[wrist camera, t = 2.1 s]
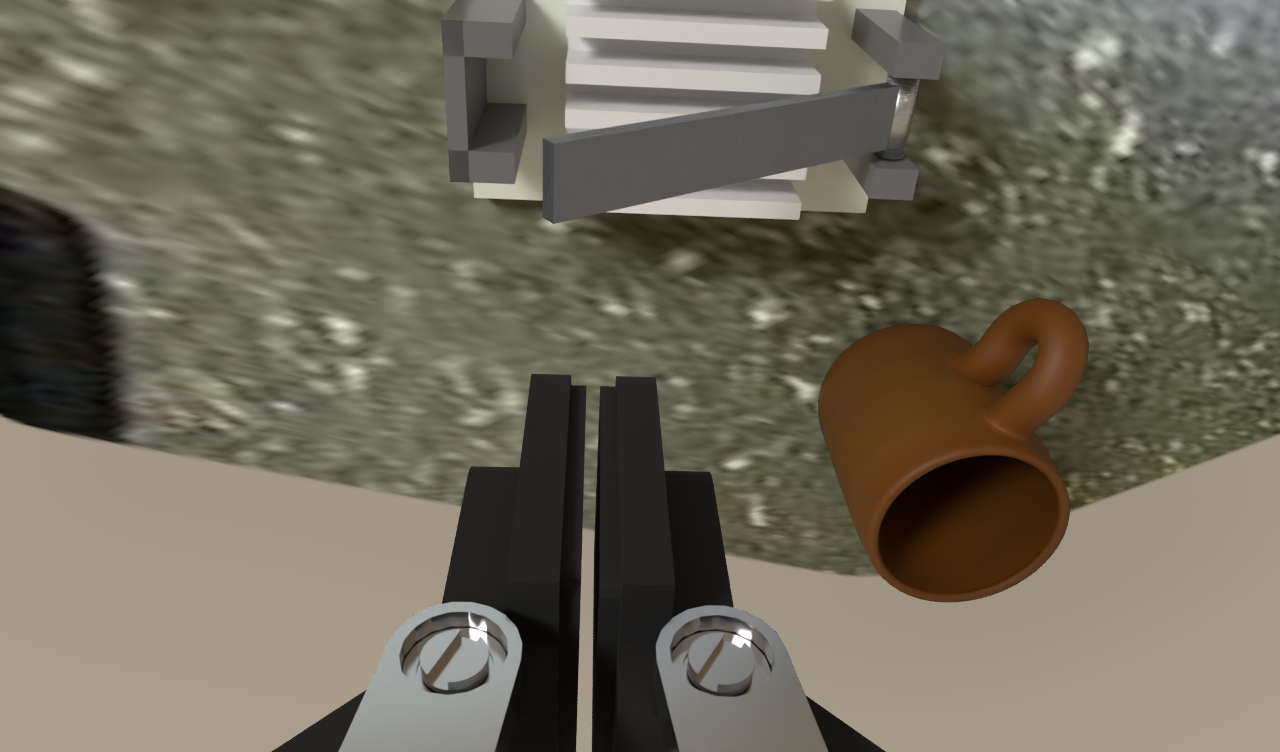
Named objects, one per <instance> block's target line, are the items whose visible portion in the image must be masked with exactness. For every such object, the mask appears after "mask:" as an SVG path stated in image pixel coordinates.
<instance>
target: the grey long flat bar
mask: <svg viewBox="0 0 1280 752" xmlns="http://www.w3.org/2000/svg"><path fill="white" fill-rule="evenodd" d="M919 83H920V79H913V78H893V77H892V76H891V75H890V74H889V73H888V75H887V80H886V82H885V83H879V84H873V85H867V86H861V87H854V88H848V89H842V90H836V91H830V92H824V93H817V94H811V95H805V96H799V97H793V98H787V99H780V100H774V101H768V102H762V103H756V104H750V105H743V106H737V107H731V108H725V109H719V110H713V111H706V112H700V113H694V114H688V115H682V116H676V117H669V118H663V119H657V120H651V121H645V122H638V123H632V124H626V125H620V126H614V127H608V128H601V129H595V130H589V131H583V132H577V133H571V134H564V135H558V136H552V137H546V138H543V218H545V219H547V220H548V221H550V222H551V223H553V224H555V223H559V222H564V221H568V220H573V219H577V218H582V217H586V216H591V215H595V214H600V213H604V212H609V211H613V210H618V209H622V208H627V207H631V206H636V205H640V204H645V203H649V202H654V201H658V200H663V199H667V198H672V197H676V196H681V195H685V194H690V193H694V192H699V191H703V190H708V189H712V188H717V187H721V186H726V185H730V184H735V183H739V182H744V181H748V180H753V179H757V178H762V177H766V176H771V175H775V174H780V173H784V172H789V171H793V170H798V169H802V168H807V167H811V166H816V165H820V164H825V163H829V162H834V161H838V160H843V159H847V158H852V157H856V156H861V155H865V154H870V153H873V154H874V155H875V156H877V157H880V158H884V159H892V160H897V159H902V158H904V154H905V150H906V145H907V140H908V135H909V130H910V126H911V121H912V116H913V111H914V106H915V102H916V97H917V92H918V87H919Z"/></svg>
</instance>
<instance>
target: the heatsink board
mask: <svg viewBox="0 0 1280 752" xmlns="http://www.w3.org/2000/svg"><path fill="white" fill-rule="evenodd" d="M905 5H906V0H456V1H455V2H454V4H453V5H452V6H451V7H450V9H449V10H448V11H447V13H446V14H445V15H444V17H443V18H442V19H441V23H442V42H443V60H444V78H445V97H446V115H447V134H448V152H449V170H450V182H471V183H474V198H493V199H518V200H543V138H546V137H552V136H558V135H564V134H571V133H577V132H583V131H589V130H595V129H601V128H608V127H614V126H620V125H626V124H632V123H638V122H645V121H651V120H657V119H663V118H669V117H676V116H682V115H688V114H694V113H700V112H706V111H713V110H719V109H725V108H731V107H737V106H743V105H750V104H756V103H762V102H768V101H774V100H780V99H787V98H793V97H799V96H805V95H811V94H817V93H824V92H830V91H836V90H842V89H848V88H854V87H861V86H867V85H873V84H879V83H885V82H886V80H887V75H888V73H889V74H890V75H891V76H892V77H893V78H913V79H933V80H939V77H940V73H941V68H942V64H943V59H944V55H945V50H946V46H947V45H946V44H944V43H943V42H941V41H940V40H938V39H937V38H936V37H934V36H933V35H931V34H930V33H928V32H927V31H925V30H924V29H922V28H921V27H919V26H918V25H917V24H915V23H914V22H912V21H911V20H909V19H908V18H906V17H905V16H904V11H905ZM918 173H919V170H918V168H917V167H916V166H915V165H914V164H913V163H912V162H911V160H910V159H909V158H908V157H907V156H906V155H905V154H904V158H902V159H897V160H892V159H884V158H880V157H877V156H875V155H874V154H873V153H870V154H865V155H861V156H856V157H852V158H847V159H843V160H838V161H834V162H829V163H825V164H820V165H816V166H811V167H807V168H802V169H798V170H793V171H789V172H784V173H780V174H775V175H771V176H766V177H762V178H757V179H753V180H748V181H744V182H739V183H735V184H730V185H726V186H721V187H717V188H712V189H708V190H703V191H699V192H694V193H690V194H685V195H681V196H676V197H672V198H667V199H663V200H658V201H654V202H649V203H645V204H640V205H636V206H631V207H627V208H622V209H618V210H613V211H609V212H612V213H637V214H663V215H689V216H714V217H740V218H766V219H791V220H799V218H800V212H801V211H821V212H847V213H866V207H867V202H868V197H869V198H870V199H891V200H913V196H914V191H915V187H916V182H917V178H918Z"/></svg>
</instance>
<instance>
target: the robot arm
mask: <svg viewBox="0 0 1280 752" xmlns="http://www.w3.org/2000/svg"><path fill="white" fill-rule="evenodd" d="M585 414H586V386H573V385H571V375H553V374H532V375H531V381H530V389H529V397H528V405H527V413H526V421H525V429H524V437H523V445H522V453H521V461H520V468H515V467H471V468H470V469H469V473H468V477H467V482H466V487H465V492H464V497H463V502H462V507H461V512H460V517H459V522H458V527H457V532H456V537H455V542H454V546H453V552H452V556H451V562H450V566H449V572H448V576H447V582H446V586H445V591H444V596H443V601H442V604H440V605H436V606H432V607H430V608H427V609H425V610H423V611H421V612H419V613H417V614H415V615H413V616H412V617H410V618H409V619H408V620H407V621H405V622H404V623H403V624H402V625H401V626H400V627H398V629H397V630H396V632H395V633H394V634H393V636H392V638H391V639H390V641H389V642H388V644H387V646H386V648H385V650H384V653H383V655H382V657H381V659H380V661H379V664H378V666H377V668H376V670H375V672H374V675H373V677H372V679H371V681H370V684H369V686H368V688H367V690H365V691H364V692H363V693H361V694H359V695H358V696H356V697H355V698H354V699H352V700H350V701H349V702H347V703H346V704H344V705H343V706H341V707H340V708H338V709H336V710H335V711H333V712H332V713H330V714H329V715H327V716H326V717H324V718H323V719H321V720H319V721H318V722H316V723H315V724H313V725H312V726H310V727H309V728H307V729H306V730H304V731H303V732H301V733H300V734H298V735H297V736H295V737H293V738H292V739H291V740H289V741H287V742H286V743H284V744H283V745H281V746H280V747H278V748H277V749H275V750H273V751H272V752H576V731H577V697H578V663H579V629H580V594H581V559H582V523H583V487H584V451H585ZM592 701H593V703H592V752H885V751H884V750H882V749H881V748H880V747H878V746H877V745H875V744H874V743H872V742H871V741H870V740H868V739H867V738H865V737H864V736H862V735H861V734H860V733H858V732H857V731H855V730H854V729H853V728H851V727H850V726H848V725H847V724H845V723H844V722H843V721H841V720H840V719H838V718H836V716H834V715H833V714H831V713H830V712H828V711H827V710H826V709H824V708H823V707H821V706H820V705H818V704H817V703H815V702H814V701H813V700H811V699H810V698H808V697H807V696H806V695H805V693H804V691H803V689H802V686H801V683H800V681H799V678H798V676H797V674H796V671H795V669H794V666H793V664H792V661H791V659H790V656H789V654H788V652H787V649H786V647H785V645H784V644H783V642H782V640H781V639H780V637H779V635H778V634H777V632H776V631H775V630H773V629H772V628H771V627H770V626H769V625H768V624H767V623H765V622H764V621H763V620H762V619H760V618H758V617H756V616H754V615H752V614H750V613H748V612H747V611H744V610H740V609H736V608H734V607H733V601H732V595H731V589H730V583H729V576H728V570H727V565H726V558H725V552H724V546H723V540H722V534H721V528H720V522H719V516H718V510H717V504H716V497H715V491H714V485H713V480H712V476H711V474H710V472H691V471H665V470H664V459H663V449H662V438H661V428H660V417H659V406H658V396H657V385H656V378H655V377H623V376H616V385H615V387H609V386H601V387H600V410H599V436H598V462H597V488H596V514H595V541H594V609H593V700H592Z"/></svg>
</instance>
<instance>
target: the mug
mask: <svg viewBox="0 0 1280 752" xmlns="http://www.w3.org/2000/svg"><path fill="white" fill-rule="evenodd" d="M1037 344H1038V353H1037V356H1036V359H1035V362H1034V364H1033V366H1032V368H1031V370H1030V371H1029V373H1028V374H1027V375H1026V376H1025V377H1024V378H1023V379H1022V380H1020V381H1019V382H1018V383H1017V384H1016V385H1015V386H1013V387H1012V388H1011V389H1010V390H1009V391H1006V390H1005V389H1004V387H1003V386H1002V385H1001V382H1003V381H1004V380H1005V379H1006V378H1007V377H1009V376H1010V375H1011V374H1012V372H1013V371H1014V370H1015V369H1016V368H1017V367H1018V365H1019V364H1020V363H1021V361H1022V360H1023V358H1024V357H1025V355H1026V354H1027V353H1028V352H1029V351H1030V350H1031V349H1032V348H1033V347H1034V346H1035V345H1037ZM1088 349H1089V342H1088V338H1087V334H1086V329H1085V327H1084V325H1083V324H1082V322H1081V321H1080V319H1079V318H1078V316H1077V315H1076V313H1075V312H1074V311H1073V310H1071V309H1070V308H1068V307H1066V306H1065V305H1063V304H1062V303H1060V302H1058V301H1055V300H1049V299H1041V298H1038V299H1031V300H1027V301H1024V302H1021V303H1018V304H1016V305H1014V306H1012V307H1010V308H1009V309H1007V310H1006V311H1005V312H1003V313H1002V314H1001V315H1000V316H999V317H998V318H997V319H996V320H995V321H994V322H993V323H992V324H991V326H990V327H989V328H988V329H987V331H986V332H985V334H984V335H983V336H982V338H981V339H980V340H979V341H978V342H977V343H976V344H974V345H972V346H971V345H970V344H969V343H968V342H967V341H965V340H964V339H963V338H961V337H960V336H958V335H956V334H955V333H953V332H951V331H949V330H946V329H944V328H941V327H937V326H933V325H926V324H903V325H895V326H891V327H887V328H884V329H881V330H878V331H875V332H873V333H871V334H869V335H867V336H865V337H863V338H861V339H860V340H858V341H856V342H855V343H854V344H852V345H851V346H850V347H849V348H847V349H846V350H845V351H844V352H843V353H842V354H841V355H840V356H839V357H838V359H837V360H836V361H835V362H834V364H833V365H832V366H831V368H830V369H829V371H828V373H827V374H826V376H825V379H824V381H823V383H822V386H821V390H820V394H819V400H818V415H819V421H820V426H821V430H822V433H823V436H824V439H825V442H826V445H827V448H828V450H829V453H830V456H831V460H832V463H833V466H834V469H835V472H836V475H837V478H838V481H839V484H840V486H841V489H842V492H843V495H844V498H845V501H846V503H847V506H848V509H849V512H850V515H851V518H852V520H853V523H854V526H855V529H856V531H857V534H858V536H859V538H860V540H861V542H862V543H863V545H864V547H865V549H866V552H867V554H868V556H869V558H870V560H871V562H872V564H873V566H874V568H875V569H876V571H877V572H878V573H879V574H880V576H881V577H882V578H883V579H884V580H886V581H887V582H888V583H889V584H890V585H892V586H893V587H895V588H896V589H898V590H899V591H901V592H903V593H905V594H907V595H910V596H913V597H916V598H919V599H923V600H928V601H935V602H962V601H969V600H975V599H979V598H983V597H987V596H990V595H993V594H996V593H999V592H1001V591H1004V590H1006V589H1008V588H1010V587H1012V586H1014V585H1016V584H1018V583H1019V582H1021V581H1023V580H1024V579H1026V578H1027V577H1028V576H1030V575H1031V574H1032V573H1034V572H1035V571H1037V570H1038V569H1039V568H1040V567H1041V566H1042V565H1043V564H1044V563H1045V562H1046V561H1047V560H1048V559H1049V558H1050V557H1051V555H1052V554H1053V553H1054V551H1055V550H1056V549H1057V547H1058V545H1059V543H1060V542H1061V540H1062V538H1063V536H1064V534H1065V531H1066V528H1067V525H1068V520H1069V515H1070V501H1069V495H1068V491H1067V488H1066V486H1065V483H1064V481H1063V479H1062V477H1061V476H1060V474H1059V472H1058V471H1057V469H1056V467H1055V465H1054V463H1053V461H1052V459H1051V457H1050V455H1049V453H1048V451H1047V450H1046V448H1045V447H1044V445H1043V443H1042V442H1041V440H1040V439H1039V437H1038V436H1037V435H1036V433H1035V432H1034V430H1036V429H1037V428H1038V427H1040V426H1041V425H1042V424H1044V423H1045V422H1046V421H1048V420H1049V419H1050V418H1051V417H1053V416H1054V415H1055V414H1057V413H1058V412H1059V411H1061V410H1062V409H1063V408H1064V406H1065V405H1066V404H1067V403H1068V402H1069V400H1070V399H1071V397H1072V395H1073V393H1074V392H1075V390H1076V388H1077V387H1078V385H1079V383H1080V381H1081V378H1082V376H1083V373H1084V370H1085V368H1086V365H1087V361H1088Z"/></svg>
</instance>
